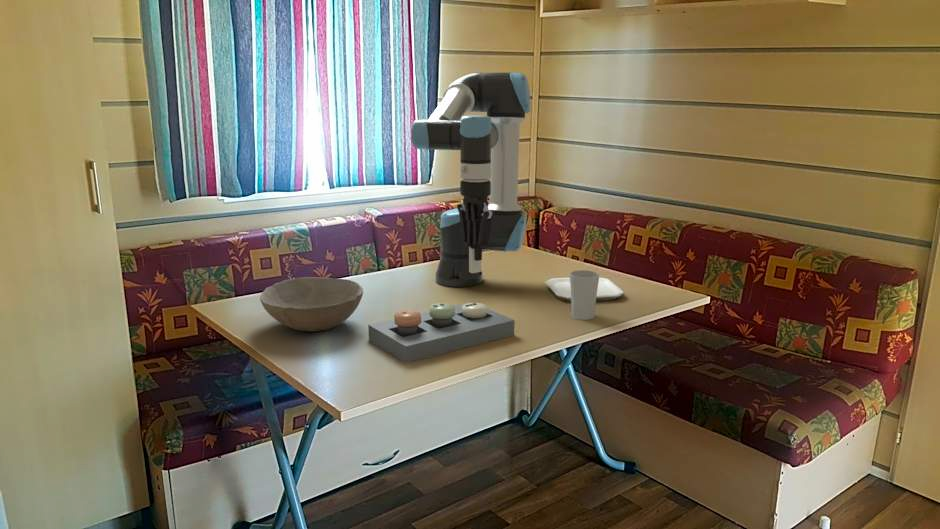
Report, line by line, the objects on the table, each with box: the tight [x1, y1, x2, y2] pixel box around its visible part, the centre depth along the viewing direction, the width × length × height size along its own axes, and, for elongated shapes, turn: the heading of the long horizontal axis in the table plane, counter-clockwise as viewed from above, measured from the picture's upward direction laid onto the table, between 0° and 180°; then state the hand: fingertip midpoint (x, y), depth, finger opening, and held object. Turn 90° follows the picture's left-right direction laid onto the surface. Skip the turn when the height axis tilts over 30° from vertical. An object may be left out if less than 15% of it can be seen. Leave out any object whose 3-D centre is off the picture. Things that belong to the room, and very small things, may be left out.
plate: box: [544, 276, 625, 302], centre depth 222 cm, size 21×21×2 cm
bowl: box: [259, 276, 364, 332], centre depth 189 cm, size 26×26×10 cm
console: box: [367, 301, 516, 363], centre depth 183 cm, size 18×32×4 cm, turn 126°
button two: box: [428, 302, 456, 329], centre depth 182 cm, size 6×6×5 cm
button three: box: [462, 302, 488, 321], centre depth 188 cm, size 6×6×5 cm
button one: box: [393, 309, 422, 337], centre depth 176 cm, size 6×6×5 cm
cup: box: [569, 269, 600, 321], centre depth 199 cm, size 8×8×12 cm
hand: (475, 271), depth 185 cm, fingers closed
